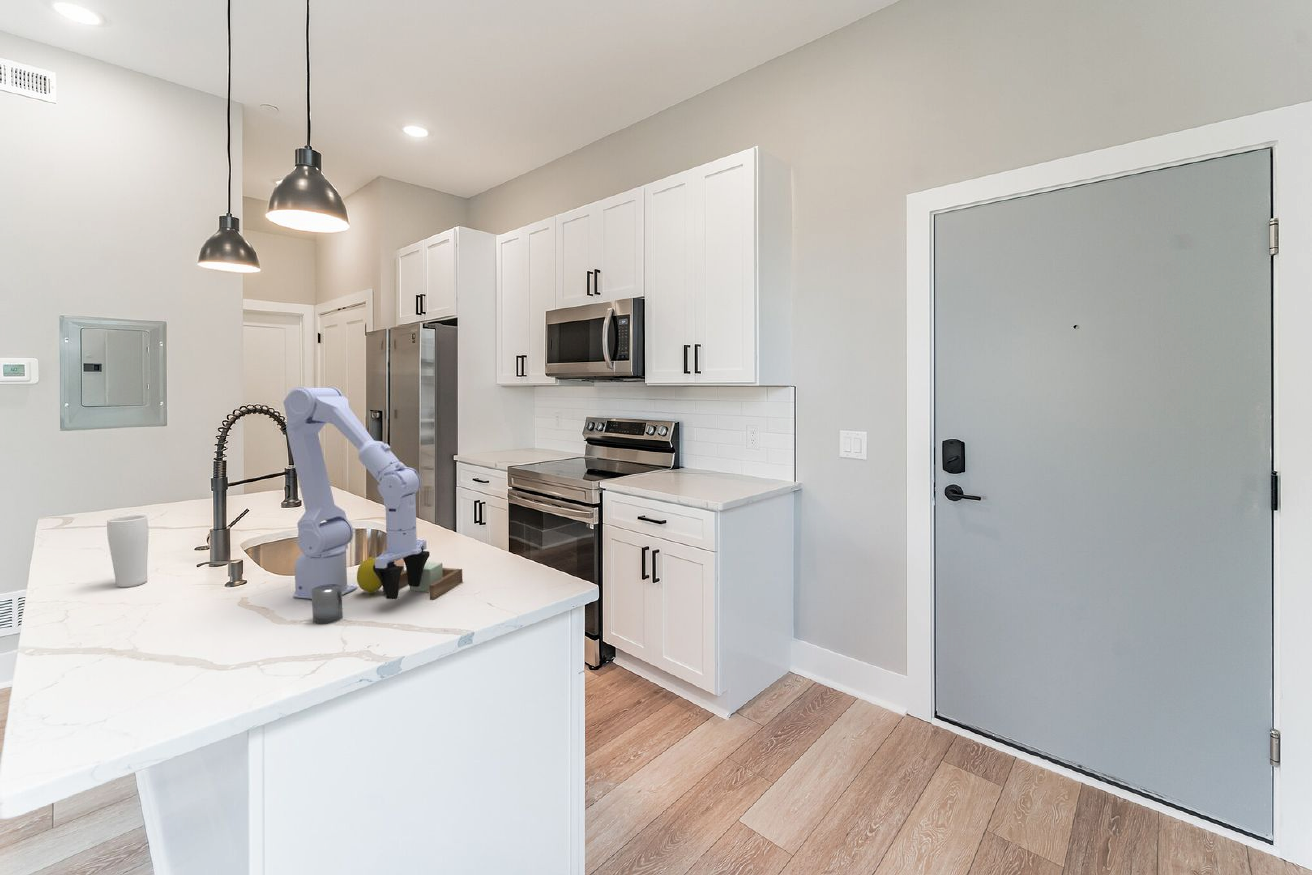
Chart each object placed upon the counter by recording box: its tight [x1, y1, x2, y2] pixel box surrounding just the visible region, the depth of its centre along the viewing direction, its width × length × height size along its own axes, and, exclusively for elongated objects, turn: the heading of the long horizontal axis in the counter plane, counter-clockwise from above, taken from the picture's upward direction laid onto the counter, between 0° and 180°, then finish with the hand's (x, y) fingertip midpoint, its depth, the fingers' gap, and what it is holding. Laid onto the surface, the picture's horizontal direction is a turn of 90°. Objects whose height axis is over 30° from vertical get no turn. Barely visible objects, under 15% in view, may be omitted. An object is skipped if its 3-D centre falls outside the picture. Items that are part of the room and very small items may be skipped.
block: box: [409, 561, 444, 593], centre depth 131 cm, size 5×5×5 cm
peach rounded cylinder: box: [394, 558, 405, 572], centre depth 136 cm, size 4×4×5 cm
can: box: [311, 584, 344, 625], centre depth 113 cm, size 5×5×6 cm
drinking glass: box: [106, 514, 149, 588], centre depth 132 cm, size 7×7×15 cm
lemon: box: [356, 556, 383, 595], centre depth 127 cm, size 6×6×8 cm
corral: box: [382, 567, 463, 601], centre depth 131 cm, size 12×12×3 cm
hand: (403, 592), depth 123 cm, fingers open, 7 cm apart
